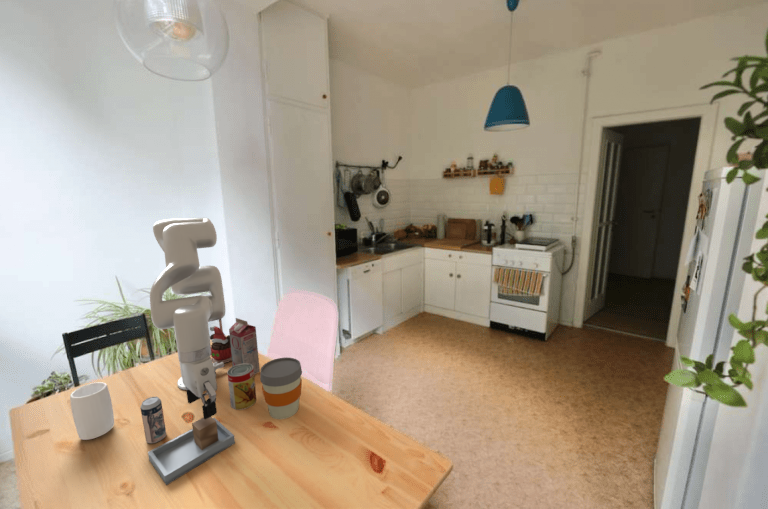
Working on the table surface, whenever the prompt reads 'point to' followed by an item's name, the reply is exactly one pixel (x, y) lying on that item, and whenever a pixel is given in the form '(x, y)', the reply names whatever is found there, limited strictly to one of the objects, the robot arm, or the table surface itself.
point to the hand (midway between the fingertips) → (202, 408)
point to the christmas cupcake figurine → (220, 345)
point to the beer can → (153, 419)
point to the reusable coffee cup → (281, 386)
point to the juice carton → (244, 344)
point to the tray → (186, 453)
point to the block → (205, 432)
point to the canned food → (241, 386)
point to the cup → (92, 410)
